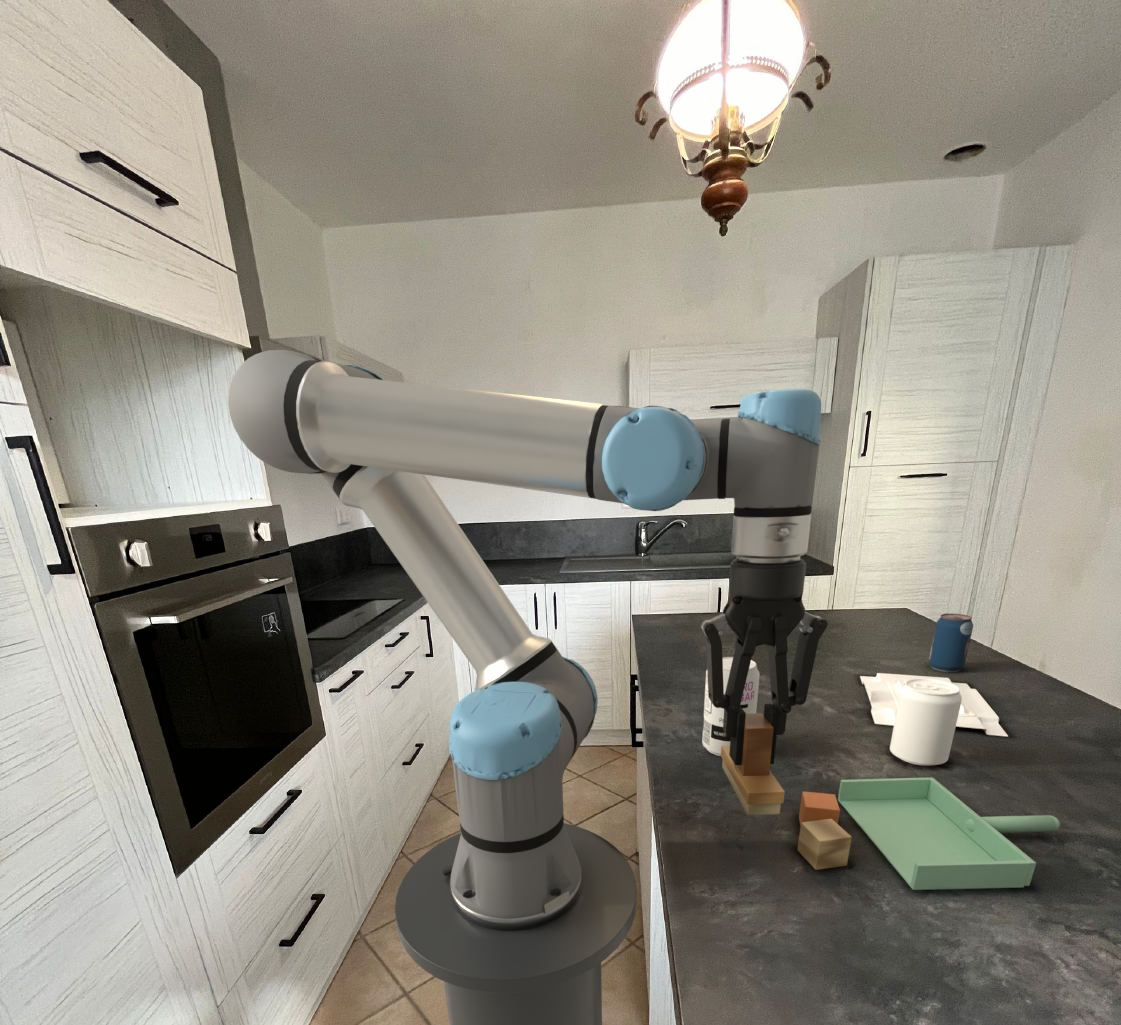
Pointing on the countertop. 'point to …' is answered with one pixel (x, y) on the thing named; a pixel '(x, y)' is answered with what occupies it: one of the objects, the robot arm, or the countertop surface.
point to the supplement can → (715, 716)
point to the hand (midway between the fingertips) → (751, 759)
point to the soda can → (950, 642)
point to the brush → (755, 769)
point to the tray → (972, 707)
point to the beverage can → (925, 721)
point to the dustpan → (940, 834)
